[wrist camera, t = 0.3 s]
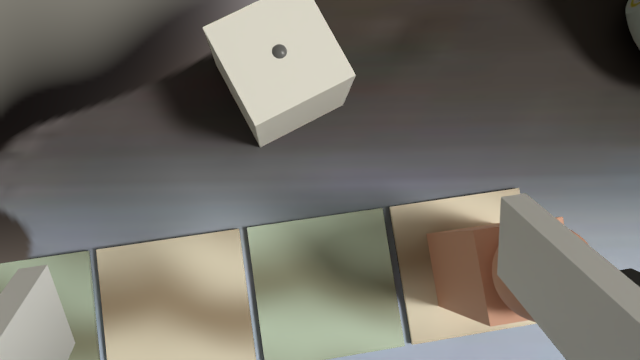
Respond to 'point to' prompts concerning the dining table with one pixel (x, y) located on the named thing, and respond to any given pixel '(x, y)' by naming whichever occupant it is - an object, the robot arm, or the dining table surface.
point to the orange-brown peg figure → (473, 275)
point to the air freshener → (634, 19)
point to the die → (280, 65)
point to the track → (269, 288)
